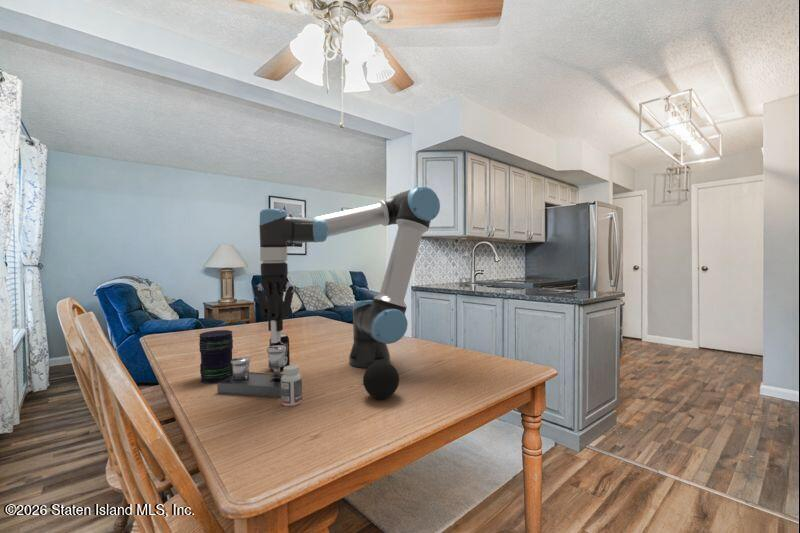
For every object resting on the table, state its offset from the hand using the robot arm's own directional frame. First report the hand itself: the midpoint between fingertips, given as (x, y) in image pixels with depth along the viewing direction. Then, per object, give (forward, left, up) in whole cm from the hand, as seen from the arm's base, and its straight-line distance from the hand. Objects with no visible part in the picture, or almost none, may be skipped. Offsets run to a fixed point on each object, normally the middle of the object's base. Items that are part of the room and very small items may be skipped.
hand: (275, 341), depth 111 cm
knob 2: (0, 0, -10) cm, 10 cm away
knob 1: (+12, 0, -14) cm, 19 cm away
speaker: (-32, 0, -15) cm, 35 cm away
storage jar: (+25, -6, -15) cm, 30 cm away
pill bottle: (-9, +8, -15) cm, 19 cm away
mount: (+6, 0, -14) cm, 16 cm away
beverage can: (+10, -19, -15) cm, 26 cm away
